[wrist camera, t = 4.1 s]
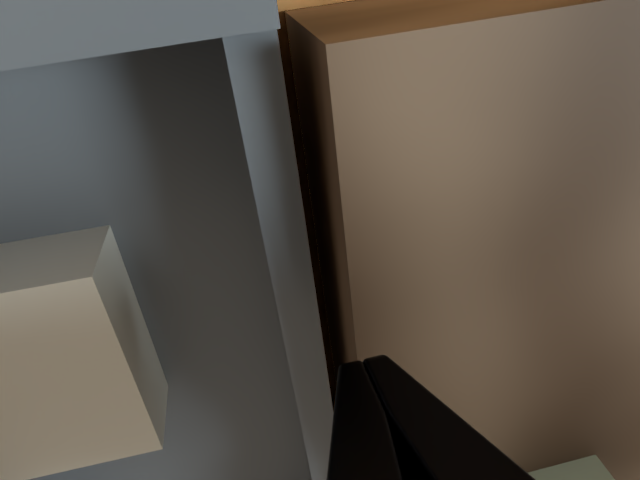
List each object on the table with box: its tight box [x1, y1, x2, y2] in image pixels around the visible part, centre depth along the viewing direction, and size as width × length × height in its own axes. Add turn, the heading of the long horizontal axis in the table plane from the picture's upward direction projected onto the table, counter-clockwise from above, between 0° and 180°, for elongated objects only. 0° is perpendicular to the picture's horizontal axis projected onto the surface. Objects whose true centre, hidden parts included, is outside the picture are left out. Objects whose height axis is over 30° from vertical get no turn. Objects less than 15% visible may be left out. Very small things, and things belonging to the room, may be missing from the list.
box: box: [0, 0, 334, 480], centre depth 12 cm, size 10×20×5 cm, turn 7°
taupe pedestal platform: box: [285, 0, 640, 480], centre depth 13 cm, size 10×18×4 cm, turn 7°
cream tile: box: [0, 225, 168, 480], centre depth 11 cm, size 5×5×2 cm
